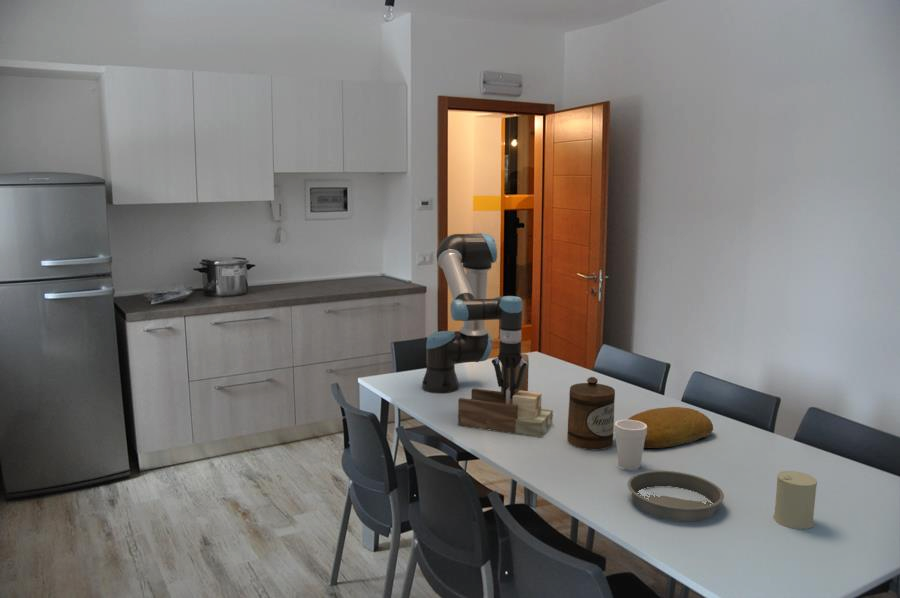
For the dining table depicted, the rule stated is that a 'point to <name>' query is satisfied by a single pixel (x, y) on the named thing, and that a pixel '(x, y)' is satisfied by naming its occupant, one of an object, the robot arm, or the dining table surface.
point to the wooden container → (591, 415)
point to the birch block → (527, 403)
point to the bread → (673, 426)
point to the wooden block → (525, 377)
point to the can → (795, 499)
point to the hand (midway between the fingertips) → (508, 406)
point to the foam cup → (630, 442)
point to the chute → (499, 414)
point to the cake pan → (675, 506)
